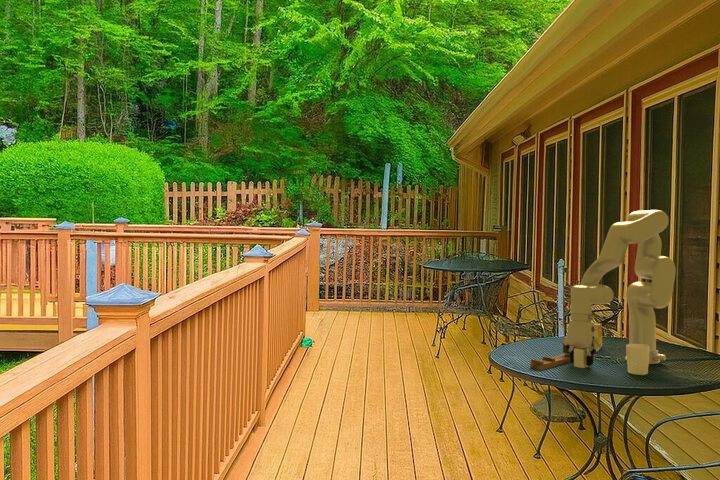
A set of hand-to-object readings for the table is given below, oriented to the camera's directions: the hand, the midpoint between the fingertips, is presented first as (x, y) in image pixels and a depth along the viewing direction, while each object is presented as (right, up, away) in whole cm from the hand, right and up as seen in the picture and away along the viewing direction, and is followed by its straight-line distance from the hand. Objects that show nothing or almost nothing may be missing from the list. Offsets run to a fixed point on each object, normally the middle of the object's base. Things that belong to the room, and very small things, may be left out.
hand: (581, 363), depth 228 cm
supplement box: (+18, 0, +34) cm, 38 cm away
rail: (-7, -1, +6) cm, 9 cm away
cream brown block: (0, -1, 0) cm, 1 cm away
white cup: (+17, -1, -11) cm, 20 cm away
